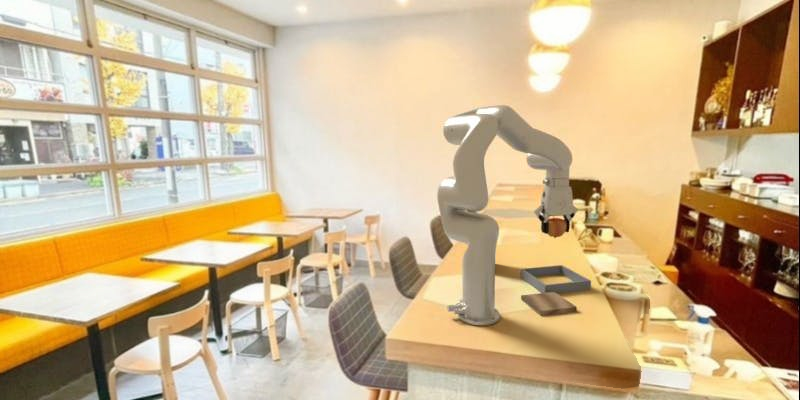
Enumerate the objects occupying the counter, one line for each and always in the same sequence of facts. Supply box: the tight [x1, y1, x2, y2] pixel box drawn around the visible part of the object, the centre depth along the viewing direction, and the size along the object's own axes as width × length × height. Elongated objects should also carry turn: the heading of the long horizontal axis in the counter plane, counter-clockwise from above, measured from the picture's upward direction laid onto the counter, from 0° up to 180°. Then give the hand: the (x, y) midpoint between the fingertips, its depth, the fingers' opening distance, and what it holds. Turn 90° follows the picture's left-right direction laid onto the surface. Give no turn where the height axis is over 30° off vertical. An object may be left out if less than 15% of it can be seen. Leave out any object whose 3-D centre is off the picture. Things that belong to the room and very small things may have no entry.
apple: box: [547, 216, 567, 239], centre depth 135 cm, size 7×7×8 cm
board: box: [520, 292, 577, 317], centre depth 121 cm, size 12×12×2 cm
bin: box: [520, 264, 592, 295], centre depth 138 cm, size 17×17×4 cm
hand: (555, 231), depth 136 cm, fingers closed on apple, 7 cm apart
